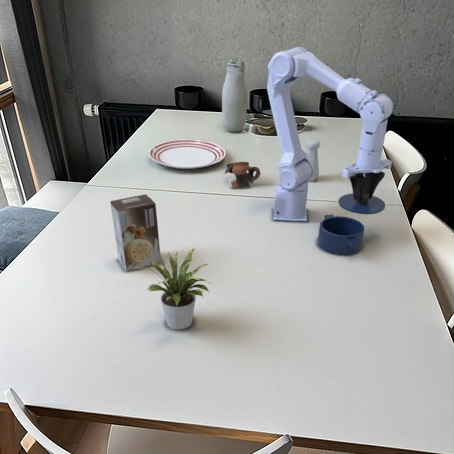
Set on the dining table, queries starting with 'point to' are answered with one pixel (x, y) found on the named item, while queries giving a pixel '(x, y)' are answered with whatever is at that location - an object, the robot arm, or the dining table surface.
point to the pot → (340, 235)
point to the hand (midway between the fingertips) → (362, 198)
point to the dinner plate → (187, 153)
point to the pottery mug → (242, 174)
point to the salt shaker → (313, 156)
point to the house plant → (178, 292)
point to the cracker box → (136, 231)
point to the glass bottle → (234, 96)
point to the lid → (362, 204)
